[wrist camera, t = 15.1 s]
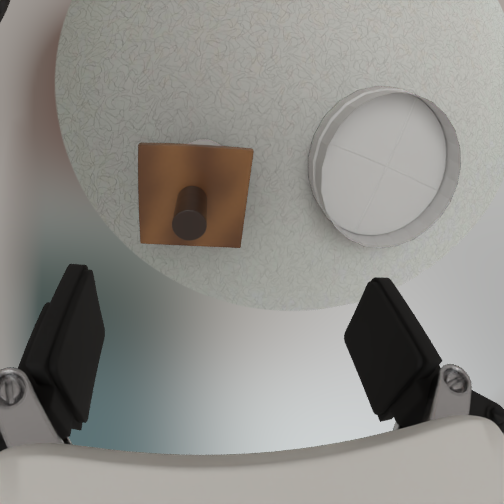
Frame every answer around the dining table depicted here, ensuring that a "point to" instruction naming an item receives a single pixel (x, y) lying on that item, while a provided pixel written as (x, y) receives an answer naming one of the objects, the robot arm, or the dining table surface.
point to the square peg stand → (192, 194)
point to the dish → (384, 165)
